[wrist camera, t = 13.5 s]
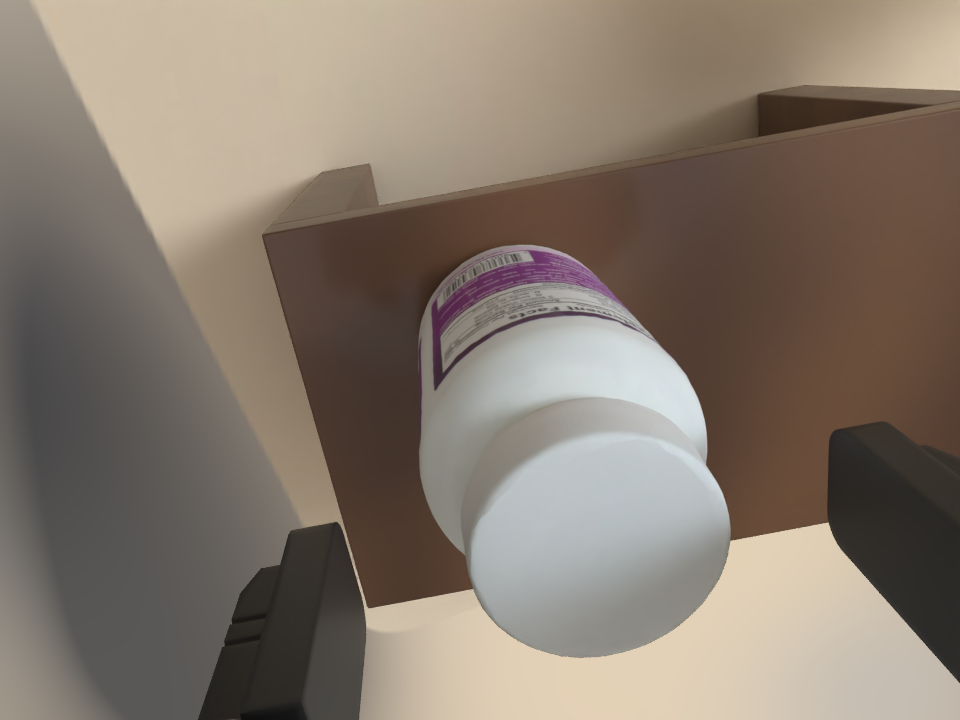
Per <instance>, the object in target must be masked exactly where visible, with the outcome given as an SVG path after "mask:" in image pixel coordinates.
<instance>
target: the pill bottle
mask: <svg viewBox="0 0 960 720" xmlns="http://www.w3.org/2000/svg"><path fill="white" fill-rule="evenodd" d="M418 367H419V468H420V477H421V481H422V486H423V490H424V493H425V496H426V500H427V502H428V505H429V507H430V510H431V512H432V514H433V516H434V518H435V520H436V522H437V523H438V525H439V526H440V528H441V530H442V531H443V532H444V534H445V535H446V536H447V537H448V539H449V540H450V541H451V542H452V543H453V544H454V546H455V547H456V548H457V549H458V550H460V551H461V552H462V553H463V554H464V555H465V556H466V562H467V568H468V574H469V577H470V581H471V584H472V587H473V589H474V592H475V594H476V596H477V598H478V600H479V602H480V604H481V606H482V608H483V609H484V611H485V612H486V613H487V614H488V616H489V617H490V618H491V619H492V620H493V621H494V622H495V624H496V625H497V626H498V627H500V628H501V629H502V630H504V631H505V632H506V633H507V634H509V635H510V636H511V637H513V638H515V639H516V640H518V641H520V642H522V643H524V644H526V645H528V646H530V647H532V648H534V649H537V650H540V651H544V652H547V653H551V654H555V655H559V656H568V657H577V658H584V657H601V656H607V655H613V654H617V653H622V652H625V651H629V650H632V649H635V648H638V647H641V646H644V645H647V644H649V643H651V642H653V641H655V640H656V639H658V638H660V637H662V636H664V635H666V634H667V633H669V632H670V631H672V630H674V629H675V628H676V627H677V626H679V625H680V624H681V623H683V622H684V621H685V620H686V619H687V618H688V617H689V616H690V615H691V614H693V612H695V611H696V610H697V609H698V608H699V607H700V605H702V604H703V602H704V601H705V599H706V598H707V597H708V595H709V593H710V592H711V591H712V590H713V588H714V587H715V585H716V583H717V582H718V580H719V578H720V576H721V574H722V571H723V569H724V566H725V563H726V559H727V556H728V550H729V545H730V538H731V527H730V519H729V513H728V509H727V505H726V502H725V499H724V496H723V493H722V491H721V489H720V487H719V485H718V483H717V481H716V480H715V478H714V477H713V475H712V474H711V472H710V471H709V469H708V468H707V466H706V459H707V432H706V426H705V419H704V416H703V412H702V409H701V406H700V403H699V400H698V397H697V395H696V393H695V391H694V389H693V387H692V386H691V384H690V382H689V379H688V377H687V376H686V374H685V373H684V371H683V370H682V369H681V367H680V366H679V365H678V363H677V362H676V361H675V360H674V359H673V357H672V356H671V355H670V354H669V353H668V352H667V351H665V350H664V349H663V348H662V347H661V346H660V344H659V343H658V342H657V341H656V340H655V339H654V338H653V336H652V335H651V334H650V333H649V332H648V331H647V330H646V329H645V328H644V327H643V326H642V325H641V324H640V322H639V321H637V319H636V318H635V317H634V316H633V315H632V314H631V313H630V311H629V310H628V309H627V308H626V307H625V306H624V305H623V304H622V303H621V302H620V301H619V300H618V298H617V297H616V296H615V295H614V294H613V293H612V292H611V291H610V290H609V289H608V288H607V287H606V286H605V285H604V284H603V283H602V282H601V281H600V280H599V279H598V278H597V276H596V275H594V274H593V273H592V272H591V271H590V270H589V269H588V268H587V267H585V266H584V265H583V264H582V263H580V262H579V261H577V260H576V259H574V258H572V257H571V256H569V255H567V254H565V253H562V252H560V251H557V250H554V249H550V248H547V247H542V246H535V245H512V246H501V247H497V248H493V249H490V250H487V251H485V252H482V253H480V254H478V255H476V256H474V257H472V258H470V259H469V260H467V261H465V262H463V263H462V264H461V265H460V266H459V267H458V268H456V269H455V270H454V271H453V272H452V273H451V274H449V275H448V276H447V277H446V278H445V279H444V280H443V281H442V282H441V284H440V285H439V287H438V288H437V289H436V291H435V292H434V293H433V295H432V296H431V298H430V300H429V302H428V304H427V307H426V309H425V312H424V315H423V318H422V321H421V325H420V331H419V346H418Z"/></svg>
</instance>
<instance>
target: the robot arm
mask: <svg viewBox="0 0 960 720" xmlns="http://www.w3.org/2000/svg"><path fill="white" fill-rule="evenodd" d="M827 515H828V521H829V525H830V528H831V531H832V534H833V536H834V538H835V540H836V542H837V544H838V545H839V547H840V548H841V550H842V551H843V552H844V553H845V554H846V555H847V556H848V558H849V559H850V560H851V561H852V562H853V563H854V564H855V566H856V567H857V568H858V569H859V570H860V571H861V572H862V573H863V575H864V576H866V578H867V579H868V580H869V581H870V582H871V584H872V585H873V586H874V587H875V588H876V589H877V590H878V591H879V593H880V594H881V595H882V596H883V597H884V598H885V599H886V600H887V602H888V603H889V604H890V605H891V606H892V607H893V608H894V609H895V611H896V612H898V614H899V615H900V616H901V617H902V618H903V619H904V621H905V622H906V623H907V624H908V625H909V626H910V627H911V629H912V630H913V631H914V632H915V633H916V634H917V635H918V636H919V638H920V639H921V640H922V641H923V642H924V643H925V644H926V646H927V647H928V648H929V649H930V650H931V651H932V652H933V653H934V654H935V656H937V658H938V659H939V660H940V661H941V662H942V663H943V665H944V666H946V668H947V669H948V670H949V671H950V673H952V675H953V676H954V677H955V678H956V679H957V680H958V682H959V683H960V458H958V457H956V456H953V455H951V454H948V453H946V452H943V451H941V450H938V449H935V448H933V447H930V446H928V445H922V446H919V445H918V444H916V443H915V442H914V441H912V440H911V439H910V438H908V437H907V436H906V435H904V434H903V433H902V432H900V431H899V430H898V429H896V428H895V427H894V426H892V425H891V424H889V423H888V422H885V421H879V422H874V423H868V424H863V425H858V426H852V427H847V428H842V429H837V430H835V431H833V432H832V434H831V436H830V440H829V455H828V495H827ZM224 642H225V647H222V650H221V653H220V656H219V659H218V662H217V664H216V668H215V670H214V673H213V676H212V679H211V682H210V685H209V689H208V691H207V694H206V697H205V700H204V703H203V706H202V709H201V712H200V715H199V718H198V720H359V712H360V700H361V689H362V677H363V667H364V655H365V644H366V621H365V612H364V606H363V601H362V597H361V593H360V590H359V586H358V583H357V579H356V576H355V572H354V569H353V565H352V562H351V558H350V555H349V551H348V548H347V544H346V541H345V537H344V534H343V531H342V528H341V526H340V525H339V523H338V522H334V523H328V524H323V525H318V526H312V527H307V528H302V529H296V530H292V531H290V533H289V535H288V539H287V542H286V546H285V550H284V553H283V557H282V560H281V564H280V565H277V566H272V567H266V568H261V569H260V571H259V572H258V573H257V574H256V575H255V577H254V578H253V579H252V580H251V581H250V582H249V584H248V585H247V586H246V587H245V589H244V590H243V591H242V592H241V593H240V596H239V599H238V602H237V605H236V608H235V611H234V614H233V617H232V625H230V626H229V629H228V632H227V635H226V638H225V641H224Z"/></svg>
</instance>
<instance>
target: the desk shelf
mask: <svg viewBox="0 0 960 720" xmlns="http://www.w3.org/2000/svg"><path fill="white" fill-rule="evenodd" d="M758 96H759V137H757V138H751V139H745V140H740V141H734V142H729V143H723V144H718V145H712V146H707V147H701V148H696V149H690V150H685V151H679V152H674V153H668V154H663V155H657V156H651V157H646V158H640V159H635V160H629V161H624V162H618V163H613V164H607V165H602V166H596V167H591V168H585V169H580V170H574V171H569V172H563V173H557V174H552V175H546V176H541V177H535V178H530V179H524V180H519V181H513V182H508V183H502V184H497V185H491V186H486V187H480V188H475V189H469V190H463V191H458V192H452V193H447V194H441V195H436V196H430V197H425V198H419V199H414V200H408V201H403V202H397V203H392V204H386V205H381V206H379V203H378V199H377V194H376V190H375V185H374V180H373V176H372V171H371V167H370V164H364V165H359V166H353V167H348V168H342V169H336V170H331V171H325V172H322V173H321V174H320V175H319V176H318V177H317V178H316V179H315V180H314V181H313V182H312V183H311V184H310V185H309V186H308V187H307V188H306V189H305V190H304V191H303V192H302V193H301V194H300V195H299V196H298V198H297V199H296V200H295V201H294V202H293V203H292V204H291V205H290V206H289V207H288V208H287V209H286V210H285V211H284V212H283V213H282V214H281V215H280V216H279V217H278V218H277V219H276V220H275V222H274V223H273V224H272V225H271V226H270V227H269V228H268V229H267V230H266V231H265V232H264V233H263V234H262V238H263V242H264V245H265V249H266V252H267V256H268V259H269V263H270V266H271V270H272V273H273V277H274V281H275V284H276V288H277V291H278V295H279V298H280V302H281V305H282V309H283V312H284V316H285V319H286V323H287V326H288V330H289V333H290V337H291V340H292V344H293V347H294V351H295V354H296V358H297V361H298V365H299V368H300V372H301V375H302V379H303V382H304V386H305V389H306V393H307V396H308V400H309V403H310V407H311V410H312V414H313V417H314V421H315V424H316V428H317V432H318V435H319V439H320V442H321V446H322V449H323V453H324V456H325V460H326V463H327V467H328V470H329V474H330V477H331V481H332V484H333V488H334V491H335V495H336V498H337V502H338V505H339V509H340V512H341V516H342V519H343V523H344V526H345V530H346V533H347V537H348V540H349V544H350V547H351V551H352V554H353V558H354V561H355V565H356V568H357V572H358V575H359V579H360V583H361V586H362V590H363V593H364V597H365V600H366V604H367V607H368V608H374V607H379V606H384V605H390V604H395V603H401V602H406V601H411V600H417V599H422V598H427V597H433V596H438V595H443V594H449V593H454V592H459V591H465V590H470V589H473V587H472V584H471V581H470V577H469V574H468V568H467V562H466V556H465V555H464V554H463V553H462V552H461V551H460V550H458V549H457V548H456V547H455V546H454V544H453V543H452V542H451V541H450V540H449V539H448V537H447V536H446V535H445V534H444V532H443V531H442V530H441V528H440V526H439V525H438V523H437V522H436V520H435V518H434V516H433V514H432V512H431V510H430V507H429V505H428V502H427V500H426V496H425V493H424V490H423V486H422V481H421V477H420V468H419V367H418V346H419V331H420V325H421V321H422V318H423V315H424V312H425V309H426V307H427V304H428V302H429V300H430V298H431V296H432V295H433V293H434V292H435V291H436V289H437V288H438V287H439V285H440V284H441V282H442V281H443V280H444V279H445V278H446V277H447V276H448V275H449V274H451V273H452V272H453V271H454V270H455V269H456V268H458V267H459V266H460V265H461V264H462V263H463V262H465V261H467V260H469V259H470V258H472V257H474V256H476V255H478V254H480V253H482V252H485V251H487V250H490V249H493V248H497V247H501V246H512V245H535V246H542V247H547V248H550V249H554V250H557V251H560V252H562V253H565V254H567V255H569V256H571V257H572V258H574V259H576V260H577V261H579V262H580V263H582V264H583V265H584V266H585V267H587V268H588V269H589V270H590V271H591V272H592V273H593V274H594V275H596V276H597V278H598V279H599V280H600V281H601V282H602V283H603V284H604V285H605V286H606V287H607V288H608V289H609V290H610V291H611V292H612V293H613V294H614V295H615V296H616V297H617V298H618V300H619V301H620V302H621V303H622V304H623V305H624V306H625V307H626V308H627V309H628V310H629V311H630V313H631V314H632V315H633V316H634V317H635V318H636V319H637V321H639V322H640V324H641V325H642V326H643V327H644V328H645V329H646V330H647V331H648V332H649V333H650V334H651V335H652V336H653V338H654V339H655V340H656V341H657V342H658V343H659V344H660V346H661V347H662V348H663V349H664V350H665V351H667V352H668V353H669V354H670V355H671V356H672V357H673V359H674V360H675V361H676V362H677V363H678V365H679V366H680V367H681V369H682V370H683V371H684V373H685V374H686V376H687V377H688V379H689V382H690V384H691V386H692V387H693V389H694V391H695V393H696V395H697V397H698V400H699V403H700V406H701V409H702V412H703V416H704V419H705V426H706V432H707V459H706V466H707V468H708V469H709V471H710V472H711V474H712V475H713V477H714V478H715V480H716V481H717V483H718V485H719V487H720V489H721V491H722V493H723V496H724V499H725V502H726V505H727V509H728V513H729V519H730V527H731V538H730V541H731V540H737V539H742V538H747V537H753V536H758V535H763V534H769V533H774V532H780V531H785V530H790V529H796V528H801V527H806V526H811V525H817V524H822V523H827V522H829V521H828V515H827V495H828V455H829V440H830V436H831V434H832V432H833V431H835V430H837V429H842V428H847V427H852V426H858V425H863V424H868V423H874V422H879V421H885V422H888V423H889V424H891V425H892V426H894V427H895V428H896V429H898V430H899V431H900V432H902V433H903V434H904V435H906V436H907V437H908V438H910V439H911V440H912V441H914V442H915V443H916V444H918V445H919V446H922V445H928V446H930V447H933V448H935V449H938V450H941V451H943V452H946V453H948V454H951V455H953V456H956V457H958V458H960V91H953V90H925V89H897V88H869V87H842V86H814V85H803V86H798V87H792V88H786V89H781V90H775V91H770V92H764V93H760V94H759V95H758Z"/></svg>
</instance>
